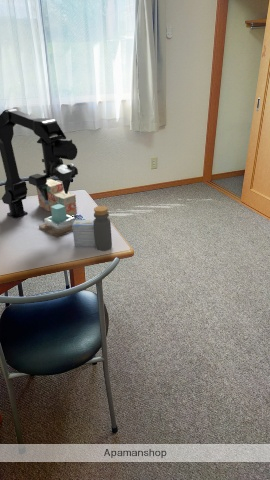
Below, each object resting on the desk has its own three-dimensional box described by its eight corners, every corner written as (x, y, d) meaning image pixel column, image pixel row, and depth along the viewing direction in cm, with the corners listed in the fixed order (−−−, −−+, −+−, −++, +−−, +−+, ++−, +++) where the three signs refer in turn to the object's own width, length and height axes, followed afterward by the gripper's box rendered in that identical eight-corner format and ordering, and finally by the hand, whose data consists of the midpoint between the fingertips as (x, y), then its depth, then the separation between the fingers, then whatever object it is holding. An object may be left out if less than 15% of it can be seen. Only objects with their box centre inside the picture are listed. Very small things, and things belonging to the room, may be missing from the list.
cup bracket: (45, 225, 141) (44, 218, 140) (62, 218, 147) (61, 212, 145) (58, 231, 136) (57, 224, 135) (75, 224, 142) (74, 217, 140)
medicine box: (97, 240, 131) (96, 219, 127) (96, 246, 127) (94, 224, 123) (76, 241, 131) (73, 219, 127) (74, 247, 127) (72, 225, 123)
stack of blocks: (77, 215, 152) (74, 188, 147) (65, 219, 149) (62, 191, 143) (50, 202, 166) (47, 176, 160) (38, 206, 162) (34, 180, 157)
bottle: (112, 250, 124) (110, 211, 117) (95, 252, 124) (92, 212, 117) (111, 242, 129) (108, 204, 122) (95, 244, 129) (91, 205, 122)
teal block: (53, 225, 141) (50, 206, 137) (61, 222, 144) (58, 203, 140) (59, 228, 139) (56, 209, 135) (67, 224, 141) (65, 206, 138)
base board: (39, 228, 141) (38, 225, 141) (63, 218, 149) (62, 216, 149) (57, 237, 134) (57, 234, 134) (81, 226, 142) (81, 224, 142)
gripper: (43, 166, 117) (49, 209, 125) (85, 154, 130) (89, 194, 137) (24, 160, 124) (31, 202, 131) (66, 150, 136) (70, 188, 144)
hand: (56, 196), depth 136 cm, fingers open, 9 cm apart
